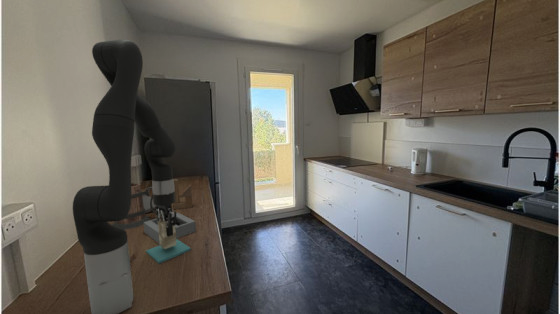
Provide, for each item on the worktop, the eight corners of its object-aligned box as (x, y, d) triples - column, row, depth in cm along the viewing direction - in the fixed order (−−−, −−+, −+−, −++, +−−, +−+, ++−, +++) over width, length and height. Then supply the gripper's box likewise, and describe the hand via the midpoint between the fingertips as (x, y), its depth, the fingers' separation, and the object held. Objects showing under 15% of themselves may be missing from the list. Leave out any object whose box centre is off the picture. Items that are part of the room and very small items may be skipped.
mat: (190, 249, 90) (190, 248, 90) (158, 263, 81) (158, 261, 81) (176, 240, 98) (176, 238, 98) (146, 252, 89) (146, 250, 89)
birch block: (176, 244, 89) (174, 220, 88) (164, 249, 86) (162, 224, 85) (171, 241, 92) (169, 217, 91) (159, 245, 89) (157, 221, 88)
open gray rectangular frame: (195, 231, 106) (195, 221, 106) (160, 244, 94) (159, 233, 94) (178, 221, 118) (177, 212, 118) (144, 232, 106) (143, 222, 106)
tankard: (107, 232, 107) (103, 191, 104) (114, 220, 122) (110, 183, 119) (163, 222, 117) (160, 184, 115) (163, 212, 132) (160, 178, 130)
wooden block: (192, 207, 140) (190, 179, 138) (173, 210, 136) (171, 180, 134) (192, 205, 143) (190, 177, 141) (173, 208, 139) (171, 179, 137)
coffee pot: (154, 213, 131) (151, 188, 129) (131, 216, 127) (128, 190, 125) (159, 202, 151) (158, 180, 149) (140, 204, 147) (137, 182, 145)
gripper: (146, 190, 88) (149, 232, 90) (161, 196, 79) (165, 243, 81) (165, 186, 94) (169, 225, 96) (182, 192, 84) (185, 235, 87)
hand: (167, 233), depth 88 cm, fingers closed on birch block, 4 cm apart
